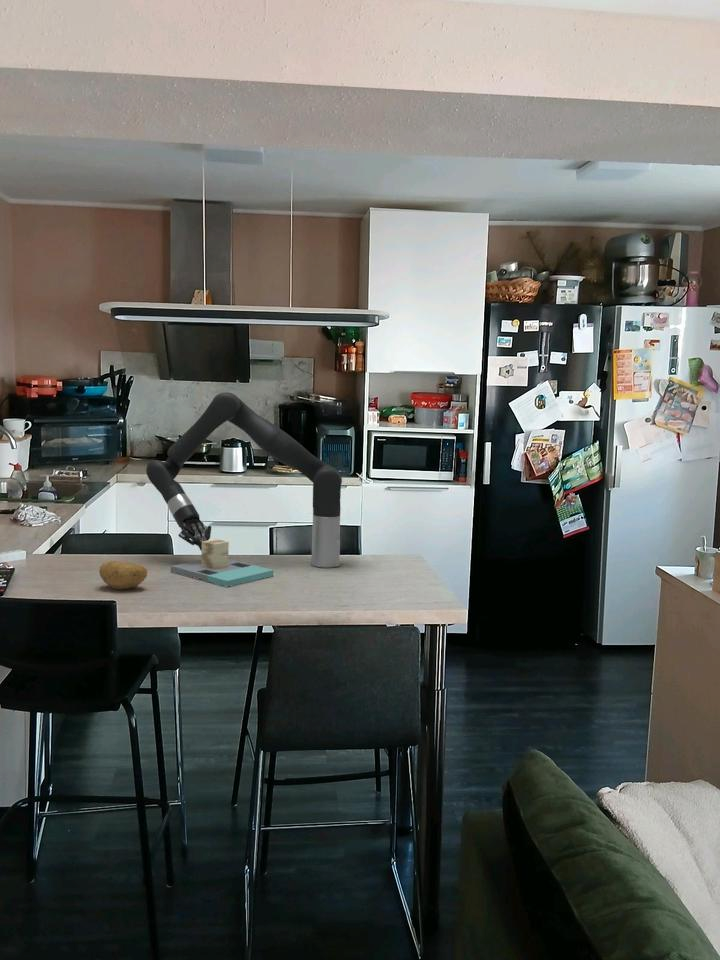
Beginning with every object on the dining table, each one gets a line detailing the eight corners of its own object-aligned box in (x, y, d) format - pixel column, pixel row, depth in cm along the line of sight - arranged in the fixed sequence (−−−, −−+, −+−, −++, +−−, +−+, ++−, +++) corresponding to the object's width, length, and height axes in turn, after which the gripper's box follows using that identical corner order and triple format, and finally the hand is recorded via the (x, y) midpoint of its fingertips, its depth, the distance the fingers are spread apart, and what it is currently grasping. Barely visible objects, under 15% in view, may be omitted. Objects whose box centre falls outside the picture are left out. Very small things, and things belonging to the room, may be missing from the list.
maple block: (201, 566, 279) (201, 541, 277) (215, 563, 283) (215, 539, 282) (214, 569, 275) (214, 544, 274) (228, 566, 280) (228, 541, 278)
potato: (140, 594, 250) (140, 567, 249) (93, 590, 252) (93, 564, 251) (152, 585, 260) (152, 559, 259) (107, 582, 262) (107, 556, 261)
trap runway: (170, 572, 277) (170, 565, 277) (217, 562, 293) (217, 556, 293) (227, 587, 262) (227, 580, 261) (273, 576, 277) (273, 570, 277)
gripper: (172, 505, 280) (197, 549, 274) (203, 501, 290) (228, 543, 284) (161, 519, 284) (186, 562, 278) (193, 515, 294) (217, 556, 288)
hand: (207, 552), depth 281 cm, fingers closed
